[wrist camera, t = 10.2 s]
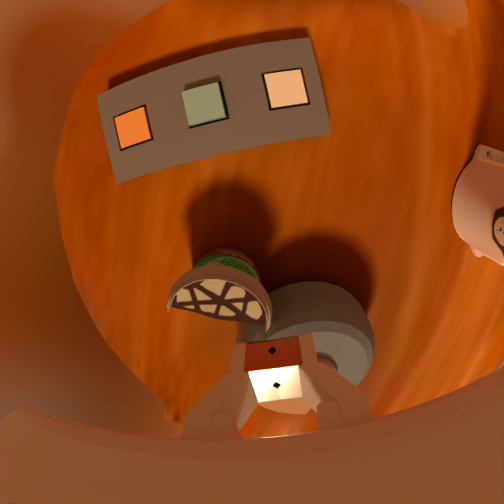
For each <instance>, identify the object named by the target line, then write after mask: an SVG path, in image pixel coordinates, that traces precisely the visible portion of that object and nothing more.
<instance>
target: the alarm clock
mask: <svg viewBox="0 0 504 504" xmlns="http://www.w3.org/2000/svg"><path fill="white" fill-rule="evenodd" d="M268 295H269V298H270V301H271V304H272V319H271V324H270V327H269V329H267V332H266V329H265V326H261V325H256V324H251V323H245V322H239V321H238V327H237V336H236V343H247V342H254V341H263V340H272V339H279V338H285V337H291V336H297V335H301V334H307V333H311V334H312V336H313V341H314V346H315V350H316V355H317V360H318V362H323V363H324V364H326V365H327V366H328V367H330V368H331V369H332V370H334V371H335V372H336V373H338V374H339V375H341V376H342V377H343V378H345V379H346V380H347V381H349V382H350V383H352V384H353V385H354V386H356V385H357V384H359V383H360V382H361V380H362V379H363V378H364V377H365V375H366V374H367V373H368V370H369V368H370V366H371V363H372V361H373V358H374V355H375V338H374V334H373V331H372V328H371V325H370V322H369V320H368V318H367V316H366V314H365V312H364V310H363V308H362V306H361V305H360V303H359V302H358V301H357V300H356V298H355V297H354V296H353V295H352V294H351V293H350V292H348V291H346V290H345V289H343V288H341V287H340V286H337V285H334V284H330V283H326V282H318V281H304V282H299V283H294V284H289V285H286V286H283V287H281V288H279V289H276V290H274V291H272V292H270V293H269V294H268ZM258 404H260V405H261V406H263V407H265V408H268V409H271V410H274V411H277V412H283V413H294V414H306V413H307V412H308V411H309V410H310V409H311V408H312V407H311V406H310V405H309V404H308V403H307V402H306V401H305V400H304V399H303V398H302V397H297V398H289V399H279V400H272V401H265V402H258Z"/></svg>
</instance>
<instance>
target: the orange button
mask: <svg viewBox="0 0 504 504" xmlns="http://www.w3.org/2000/svg"><path fill="white" fill-rule="evenodd" d="M115 123H116V127H117V132H118V136H119V140H120V145H121V149H122V148H128V147H131V146H133V145H136V144H139V143H142V142H145V141H148V140H151V139H154V138H153V134H152V130H151V125H150V121H149V116H148V112H147V107H141V108H139V109H136V110H133V111H131V112H128V113H126V114H123V115H121V116H119V117H116V118H115Z"/></svg>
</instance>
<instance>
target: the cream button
mask: <svg viewBox="0 0 504 504" xmlns="http://www.w3.org/2000/svg"><path fill="white" fill-rule="evenodd" d="M264 80H265V84H266V89H267V93H268V98H269V102H270V107H271V109H276V108H282V107H289V106H296V105H303V104H306V103H308V101H307V96H306V92H305V87H304V83H303V79H302V74H301V70H291V71H284V72H277V73H270V74H264Z"/></svg>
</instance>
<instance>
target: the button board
mask: <svg viewBox="0 0 504 504" xmlns="http://www.w3.org/2000/svg"><path fill="white" fill-rule="evenodd" d="M291 70H301V74H302V79H303V83H304V87H305V92H306V96H307V101H308V103H306V104H303V105H296V106H289V107H282V108H276V109H271V107H270V102H269V98H268V93H267V89H266V84H265V80H264V74H270V73H277V72H284V71H291ZM216 82H218V83H219V85H220V88H221V92H222V97H223V101H224V105H225V110H226V114H227V118H222V119H218V120H214V121H210V122H206V123H202V124H198V125H195V126H189V124H188V119H187V115H186V111H185V106H184V102H183V97H182V92H183V91H186V90H190V89H193V88H197V87H200V86H204V85H208V84H212V83H216ZM97 101H98V107H99V112H100V117H101V122H102V126H103V131H104V136H105V140H106V144H107V148H108V153H109V157H110V161H111V164H112V168H113V172H114V176H115V179H116V183H117V184H118V183H120V182H123V181H126V180H130V179H133V178H136V177H139V176H142V175H145V174H149V173H152V172H155V171H159V170H162V169H165V168H169V167H172V166H176V165H180V164H183V163H187V162H191V161H195V160H199V159H203V158H207V157H211V156H215V155H219V154H224V153H228V152H233V151H237V150H242V149H247V148H252V147H257V146H262V145H268V144H273V143H279V142H285V141H291V140H297V139H304V138H311V137H318V136H326V135H332V134H331V129H330V123H329V118H328V113H327V108H326V103H325V98H324V93H323V89H322V84H321V80H320V76H319V72H318V68H317V64H316V60H315V56H314V52H313V48H312V45H311V41H310V38H298V39H288V40H280V41H273V42H266V43H259V44H253V45H248V46H243V47H238V48H233V49H228V50H224V51H219V52H215V53H211V54H207V55H203V56H200V57H196V58H193V59H189V60H186V61H183V62H179V63H176V64H173V65H170V66H167V67H164V68H161V69H158V70H156V71H153V72H150V73H147V74H145V75H142V76H140V77H137V78H135V79H132V80H130V81H127V82H125V83H123V84H120V85H118V86H116V87H114V88H112V89H109V90H107V91H105V92H103V93H101V94H99V95H97ZM141 107H147V112H148V116H149V121H150V125H151V130H152V134H153V138H154V139H151V140H148V141H145V142H142V143H139V144H136V145H133V146H131V147H128V148H122V149H121V145H120V140H119V136H118V132H117V127H116V123H115V118H116V117H119V116H121V115H123V114H126V113H128V112H131V111H133V110H136V109H139V108H141Z"/></svg>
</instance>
